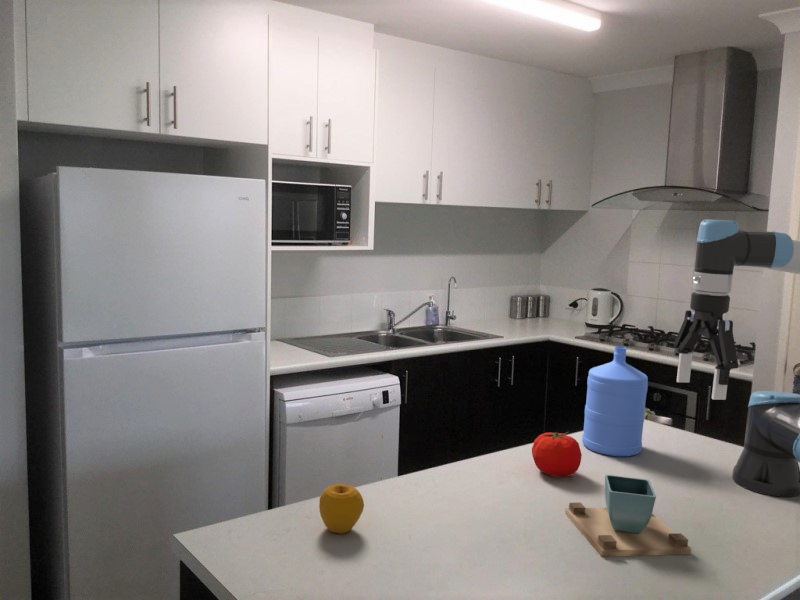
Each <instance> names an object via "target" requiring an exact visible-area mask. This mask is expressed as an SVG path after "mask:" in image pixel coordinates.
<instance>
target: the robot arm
mask: <svg viewBox="0 0 800 600" xmlns="http://www.w3.org/2000/svg"><path fill="white" fill-rule="evenodd" d="M696 243H697V244H696V250H695V251H696V253H695V261H694V269H693V270H694V272H693V273H694V274H693V277H692V289H693V292H692V293H691V297H690V307H689V308H690V309H691V310H686V311H685V312H684V313H685V314H684V318H683V321H682V323H681V325H680V329H679V331H678V334H677V336H676V337H675V341H674V343H673V347H674V349H677V353H678V361H677V364H678V365H677V374H676V375H677V376H676V383H689V384H690V382H691V379H690V378H691V371H692V364H693V363H692V361H693V354H694V352H693V349H694V347H695V346H696V345H697V343H698V342H699V341H700V339H701V337H702V336H703V337H704V338H706V340H707V341H709V343H710V346H711V350H712V352H713V355H714V358H715V362H716V366H715V367H714V373H713V381H712V392H711V399H712V400H715V401H716V400H717V401H718V400H723V401H725V400H726V399H727V391H728V385H729V380H730V372H731V370H732V369H738V367H739V360H738V355H737V349H736V343H735V338H734V337H735V336H734V333H733V330H734V322H733V320H732V319H731V320H729V319H728V320H727V319H723V317H724V314H728V312H729V311H730V301H731V297H730V295H728V294H730V293H731V292H732V286H733V279H734V277H733V276H734V270H735V269H734V268H735V267H740V266H741V267H754V268H761V269H768V270H772V271H773V270H774V271H778V272H779V271H780V272H784V273H790V274H795V275H800V240H794V239H792V237H791V236H790V235H789V234H788V233H786V232H777V231H774V230H773V231H764V230H763V231H761V230H760V231H759V230H748V229H740V228H739V222H738V221H737V220H727V219H726V220H724V219H703V220H702V221H701V222H700V224H699V228H698V234H697V238H696ZM692 353H693V354H692ZM747 409H748V410H747V418H746V425H745V426H746V427H745V434H744V436H745V437H744V444H743V449H742V451H741V454H740V455H739V458H738V459H737V462H736V463H735V465H734V466H733V469H732V475H731V477H732V480H733V482H735V483H736V484H737V485H739V486H740V487H743V488H745V489H747V490H749V491H753V492H756V493H759V494H764V495H768V496H775V497H784V498H786V497H787V498H788V497H789V498H790V497H796V496H799V495H800V465H799V463H800V394H799V393H793V392H787V391H777V390H776V391H774V390H757V391H754V392H752V393H751V395H750V397H749V401H748V405H747Z"/></svg>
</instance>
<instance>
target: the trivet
mask: <svg viewBox="0 0 800 600" xmlns="http://www.w3.org/2000/svg"><path fill="white" fill-rule="evenodd" d="M565 515H566V517H567V518H568V519H569V520H570V521H571V522H572V523H573V525H574V526H575V527H576V528H577V530H578V531H579V532H580V533H581V534H582V536H584V538H585V539H586V540H587V542H588V543H589V544H590V545H591V546H592V547H593V548H594V550H595V551H596V552H597V553H598V554H599V556H600V557H601V558H602V557H630V556H631V557H632V556H634V557H635V556H665V555H667V556H670V555H671V556H672V555H675V556H676V555H691V553H692V547H691V546H690V545H689V538H687V537H686V536H685V535H683V533H680V532H679V533H675V532H674V531H673V530H671V529H670V528H669V526H667V525H666V524H665V523H664V522H662V520H661V519H659V518H658V517H657V516H656V515H655V514H653V513H652V515H651V518H650V521H649V523H648V525H647V526H646V527H645V528H644V530H643V531H642V532H641V533H632V532H624V531H616V530H614V529H613V527H612V525H611V522H610V518H609V514H608V510H607V507H585V505H583V503H582V502H569V504H568V508H565Z"/></svg>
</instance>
